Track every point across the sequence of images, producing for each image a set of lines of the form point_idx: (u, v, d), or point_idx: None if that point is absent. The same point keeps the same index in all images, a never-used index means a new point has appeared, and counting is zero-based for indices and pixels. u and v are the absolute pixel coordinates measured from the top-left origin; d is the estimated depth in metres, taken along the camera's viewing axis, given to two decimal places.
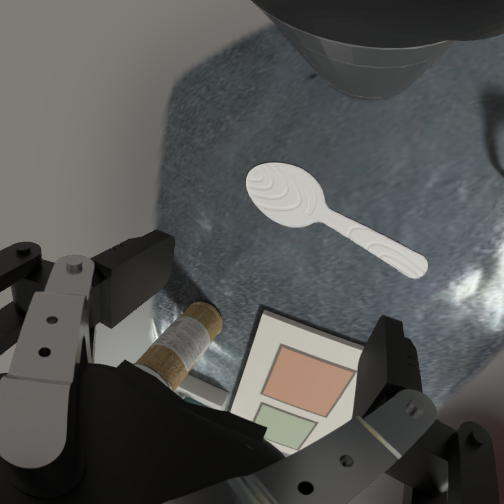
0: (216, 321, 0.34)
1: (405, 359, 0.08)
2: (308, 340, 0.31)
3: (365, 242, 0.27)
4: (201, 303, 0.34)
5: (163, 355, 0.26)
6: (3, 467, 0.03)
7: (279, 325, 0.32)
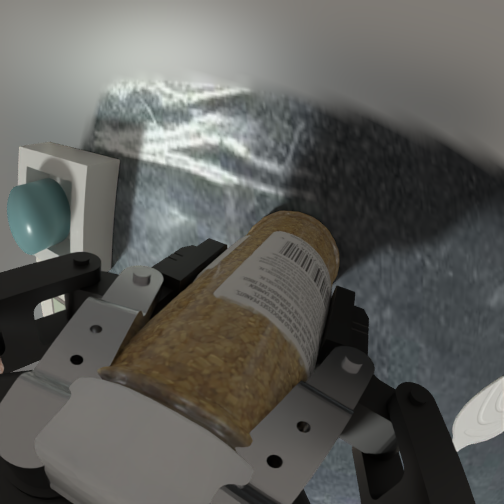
0: None
1: (350, 322, 0.09)
2: None
3: None
4: (337, 267, 0.14)
5: None
6: (3, 467, 0.03)
7: None
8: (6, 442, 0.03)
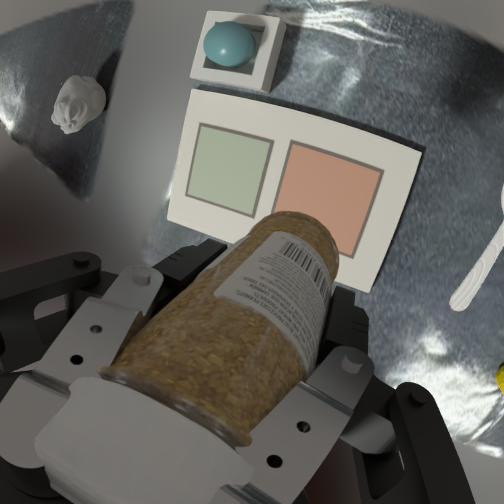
0: None
1: (350, 322, 0.09)
2: (392, 203, 0.26)
3: (485, 257, 0.25)
4: (337, 267, 0.14)
5: None
6: (3, 467, 0.03)
7: (409, 171, 0.25)
8: (6, 442, 0.03)
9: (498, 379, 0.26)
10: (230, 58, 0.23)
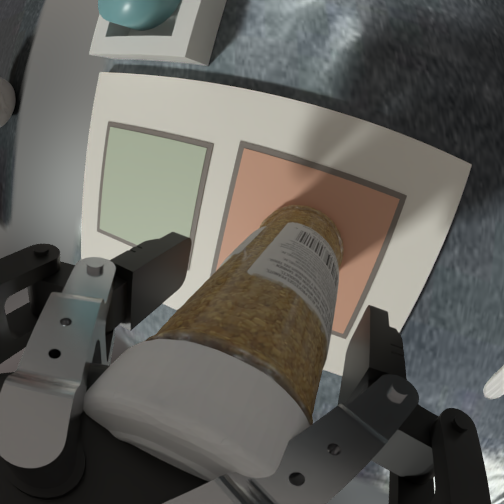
0: None
1: (389, 346, 0.08)
2: (418, 253, 0.15)
3: None
4: (342, 255, 0.15)
5: None
6: (3, 467, 0.03)
7: (449, 197, 0.13)
8: (6, 442, 0.03)
9: None
10: (131, 11, 0.11)
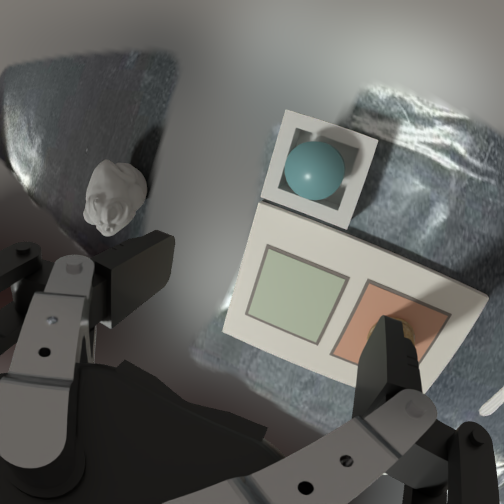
0: None
1: (405, 359, 0.08)
2: (451, 341, 0.25)
3: None
4: None
5: None
6: (3, 467, 0.03)
7: (473, 314, 0.23)
8: (6, 442, 0.03)
9: None
10: (319, 195, 0.22)
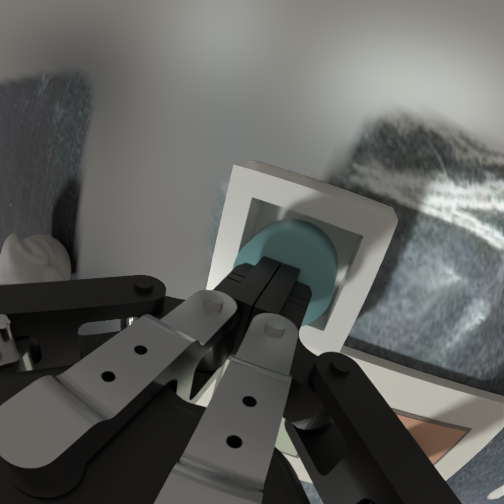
0: None
1: (286, 294, 0.10)
2: (466, 452, 0.16)
3: None
4: None
5: None
6: (3, 467, 0.03)
7: (498, 425, 0.14)
8: (6, 442, 0.03)
9: None
10: None
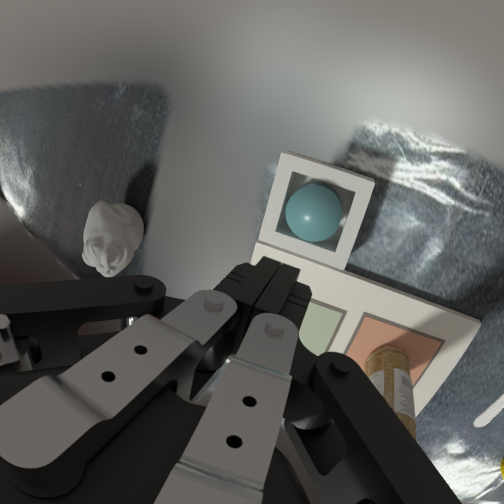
0: None
1: (286, 294, 0.10)
2: (445, 365, 0.26)
3: None
4: None
5: None
6: (3, 467, 0.03)
7: (466, 340, 0.24)
8: (6, 442, 0.03)
9: (502, 468, 0.25)
10: (318, 237, 0.23)
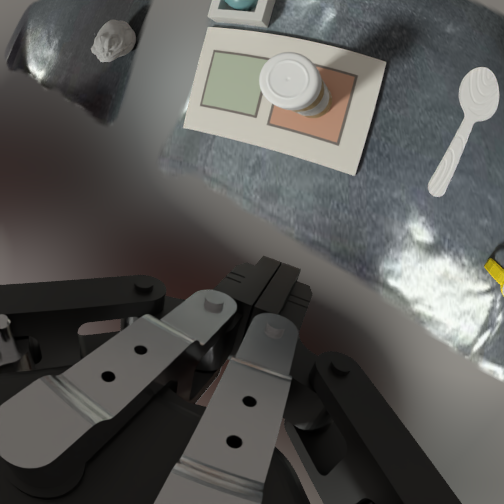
0: (317, 115, 0.32)
1: (286, 294, 0.10)
2: (366, 100, 0.31)
3: (453, 147, 0.30)
4: (331, 99, 0.32)
5: (321, 94, 0.24)
6: (3, 467, 0.03)
7: (377, 75, 0.30)
8: (6, 442, 0.03)
9: (487, 266, 0.31)
10: (242, 2, 0.29)
